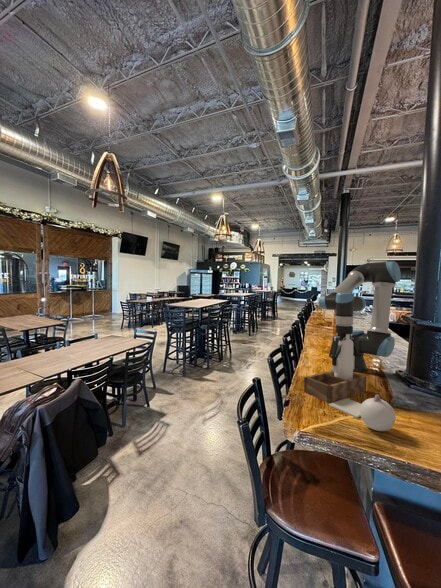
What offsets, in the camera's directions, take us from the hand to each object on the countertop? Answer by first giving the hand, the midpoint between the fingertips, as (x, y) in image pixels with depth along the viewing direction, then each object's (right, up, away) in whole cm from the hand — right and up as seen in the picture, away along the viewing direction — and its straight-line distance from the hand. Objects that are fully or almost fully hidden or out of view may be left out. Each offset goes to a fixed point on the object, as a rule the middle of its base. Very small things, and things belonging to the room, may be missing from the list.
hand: (343, 370), depth 125 cm
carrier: (-5, -9, -3) cm, 11 cm away
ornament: (-5, -10, -35) cm, 37 cm away
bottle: (0, -9, 0) cm, 9 cm away
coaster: (-6, -10, -19) cm, 22 cm away
